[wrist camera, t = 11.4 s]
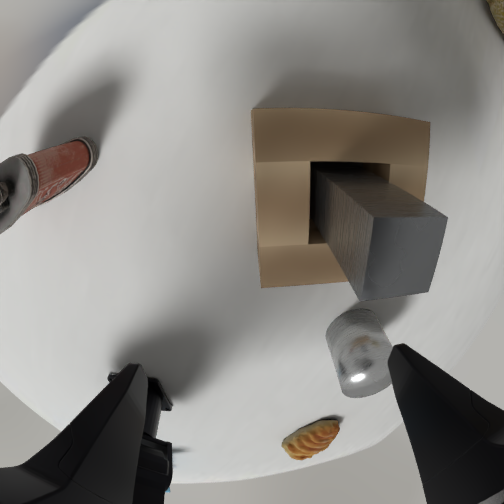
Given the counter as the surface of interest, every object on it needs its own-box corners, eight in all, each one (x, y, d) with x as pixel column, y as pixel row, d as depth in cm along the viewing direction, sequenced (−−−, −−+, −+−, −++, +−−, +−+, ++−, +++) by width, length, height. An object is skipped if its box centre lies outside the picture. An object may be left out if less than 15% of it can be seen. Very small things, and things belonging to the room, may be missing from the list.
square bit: (350, 208, 18) (428, 292, 9) (305, 209, 18) (359, 301, 9) (353, 162, 17) (447, 217, 8) (306, 162, 17) (373, 217, 8)
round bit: (371, 345, 25) (390, 390, 20) (322, 352, 25) (336, 402, 20) (382, 305, 23) (410, 352, 18) (329, 312, 23) (348, 364, 18)
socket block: (385, 248, 20) (408, 275, 17) (257, 255, 20) (261, 287, 16) (397, 118, 15) (430, 122, 12) (250, 110, 15) (253, 108, 12)
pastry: (312, 414, 32) (316, 437, 28) (349, 416, 33) (355, 438, 30) (277, 440, 35) (280, 461, 32) (313, 442, 37) (316, 461, 34)
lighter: (87, 125, 15) (-20, 152, 6) (105, 167, 17) (7, 221, 8) (22, 177, 16) (-65, 226, 7) (37, 211, 18) (-43, 274, 9)
